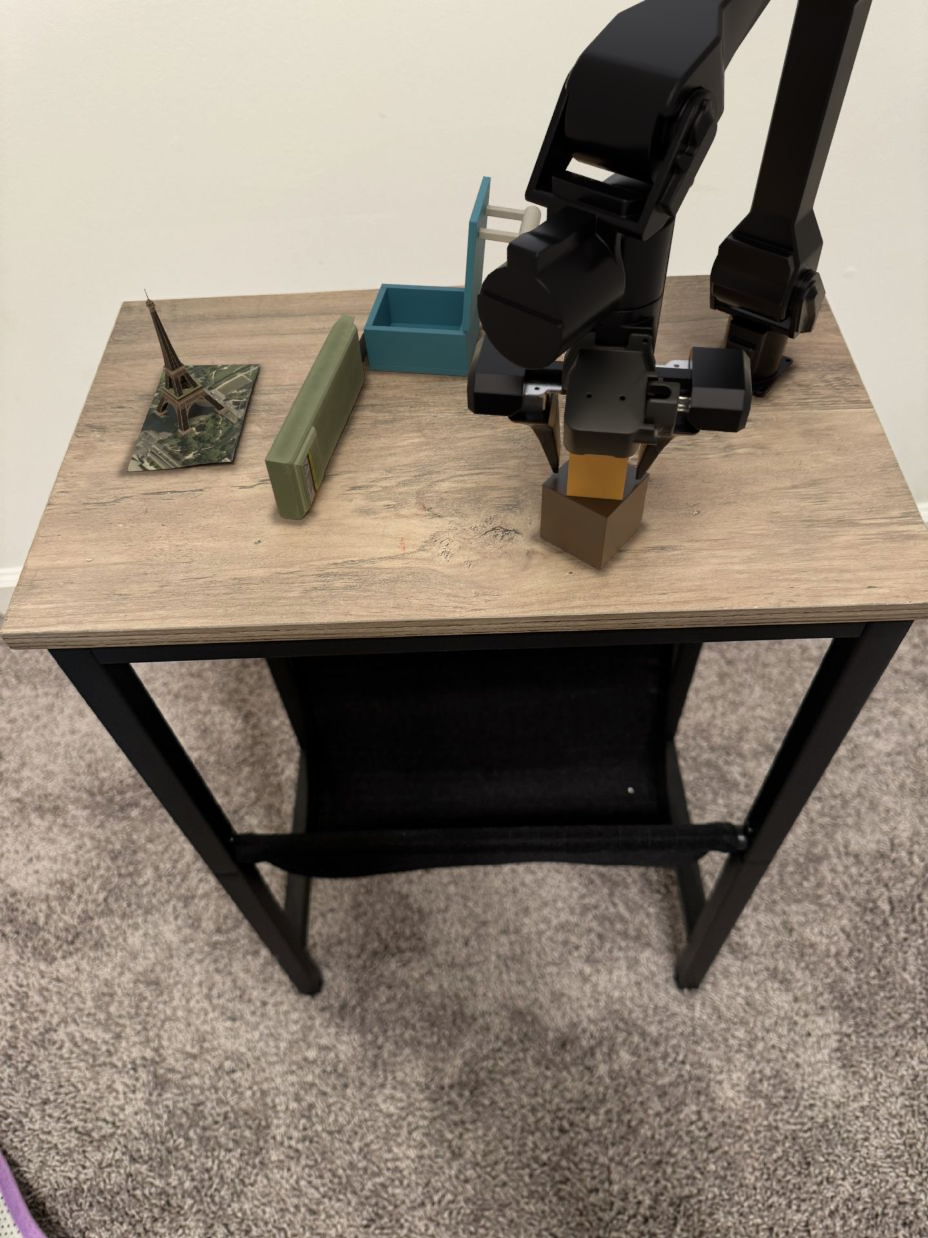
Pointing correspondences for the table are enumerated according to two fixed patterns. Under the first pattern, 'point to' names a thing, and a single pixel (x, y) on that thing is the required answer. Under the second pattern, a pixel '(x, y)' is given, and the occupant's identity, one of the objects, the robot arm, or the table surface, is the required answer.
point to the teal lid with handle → (481, 234)
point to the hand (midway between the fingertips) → (596, 472)
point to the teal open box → (420, 330)
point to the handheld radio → (316, 420)
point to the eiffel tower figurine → (192, 411)
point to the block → (596, 476)
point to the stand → (591, 517)
